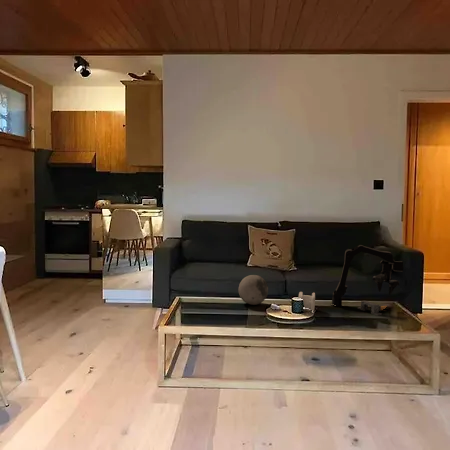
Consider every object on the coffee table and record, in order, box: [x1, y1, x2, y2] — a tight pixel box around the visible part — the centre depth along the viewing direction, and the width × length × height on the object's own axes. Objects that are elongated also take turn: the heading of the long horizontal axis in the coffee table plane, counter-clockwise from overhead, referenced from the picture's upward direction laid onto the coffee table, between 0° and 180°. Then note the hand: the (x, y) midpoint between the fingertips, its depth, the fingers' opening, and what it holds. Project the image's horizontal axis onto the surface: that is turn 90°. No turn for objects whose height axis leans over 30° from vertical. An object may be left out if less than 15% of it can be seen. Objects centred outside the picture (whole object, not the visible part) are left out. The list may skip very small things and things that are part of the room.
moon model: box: [238, 274, 269, 306], centre depth 357 cm, size 20×20×20 cm
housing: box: [357, 300, 382, 317], centre depth 354 cm, size 18×4×6 cm, turn 30°
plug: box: [378, 305, 387, 313], centre depth 359 cm, size 14×4×4 cm, turn 120°
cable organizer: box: [297, 291, 316, 312], centre depth 347 cm, size 15×11×12 cm
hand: (384, 293), depth 360 cm, fingers open, 9 cm apart
